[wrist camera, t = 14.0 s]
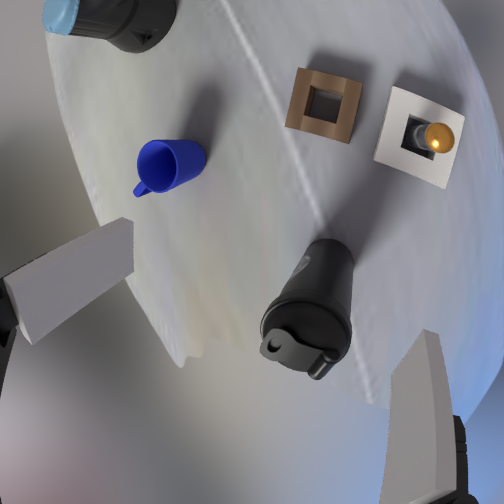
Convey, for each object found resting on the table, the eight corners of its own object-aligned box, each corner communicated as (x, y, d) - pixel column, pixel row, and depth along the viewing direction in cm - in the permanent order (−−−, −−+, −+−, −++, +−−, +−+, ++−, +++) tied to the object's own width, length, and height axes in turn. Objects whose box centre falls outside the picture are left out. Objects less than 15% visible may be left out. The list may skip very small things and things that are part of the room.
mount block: (291, 127, 40) (284, 126, 37) (303, 73, 36) (298, 67, 33) (348, 143, 38) (347, 144, 35) (362, 87, 34) (362, 83, 31)
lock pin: (403, 142, 35) (423, 146, 23) (408, 123, 34) (430, 117, 22) (422, 150, 34) (450, 158, 22) (427, 131, 33) (457, 130, 21)
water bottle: (313, 222, 45) (270, 298, 25) (369, 251, 43) (368, 347, 24) (289, 272, 50) (237, 362, 30) (340, 298, 48) (316, 401, 29)
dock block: (372, 158, 38) (374, 160, 34) (389, 90, 33) (392, 85, 29) (437, 184, 35) (444, 189, 32) (456, 118, 30) (464, 117, 27)
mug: (154, 168, 52) (118, 177, 43) (194, 126, 46) (158, 128, 37) (177, 201, 53) (142, 216, 44) (220, 162, 47) (188, 171, 38)
